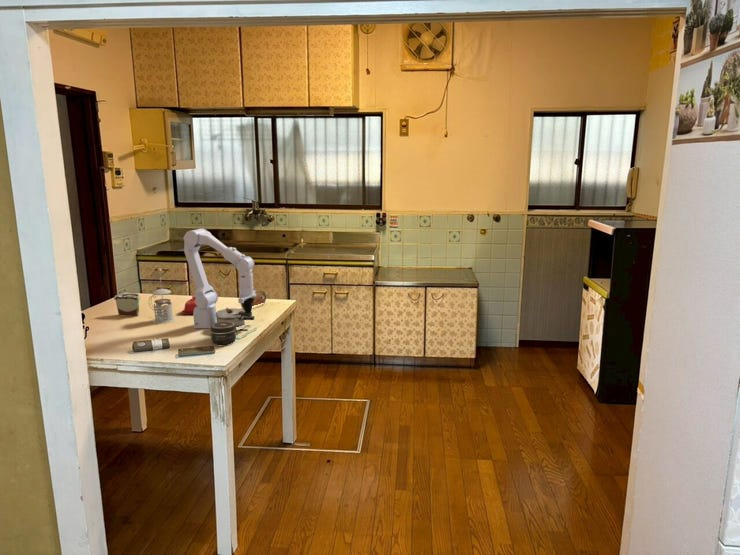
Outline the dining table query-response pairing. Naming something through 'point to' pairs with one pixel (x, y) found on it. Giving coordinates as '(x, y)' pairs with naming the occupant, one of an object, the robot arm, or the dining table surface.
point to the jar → (223, 333)
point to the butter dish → (189, 306)
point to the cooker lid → (232, 313)
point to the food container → (127, 304)
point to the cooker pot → (237, 320)
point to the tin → (258, 298)
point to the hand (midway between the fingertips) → (248, 314)
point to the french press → (162, 307)
